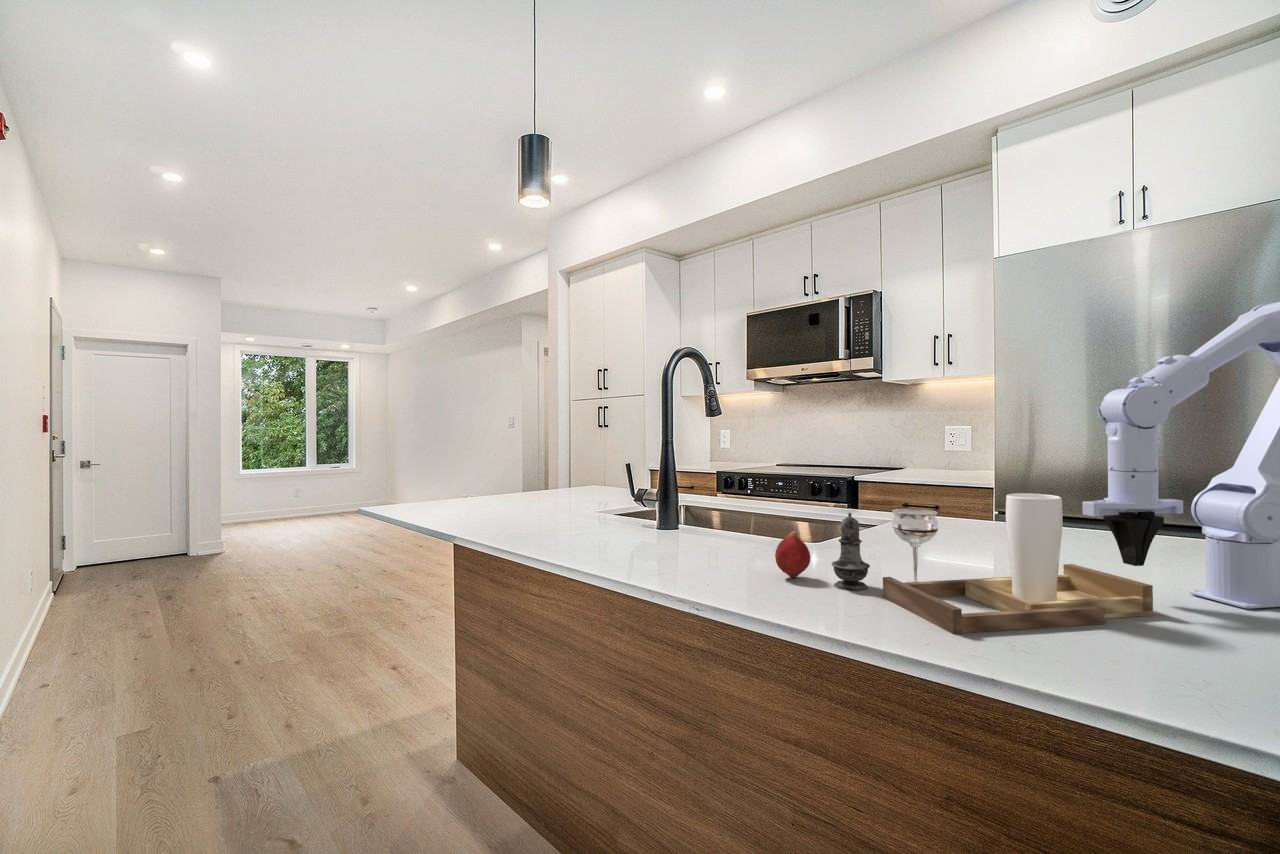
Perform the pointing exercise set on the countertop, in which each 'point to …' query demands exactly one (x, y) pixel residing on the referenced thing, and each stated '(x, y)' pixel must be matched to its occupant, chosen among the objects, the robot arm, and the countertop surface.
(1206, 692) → the countertop surface
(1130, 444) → the robot arm
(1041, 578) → the drinking glass
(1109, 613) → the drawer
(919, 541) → the wineglass
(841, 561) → the salt shaker
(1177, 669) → the countertop surface
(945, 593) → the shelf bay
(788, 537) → the onion
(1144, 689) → the countertop surface
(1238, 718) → the countertop surface
